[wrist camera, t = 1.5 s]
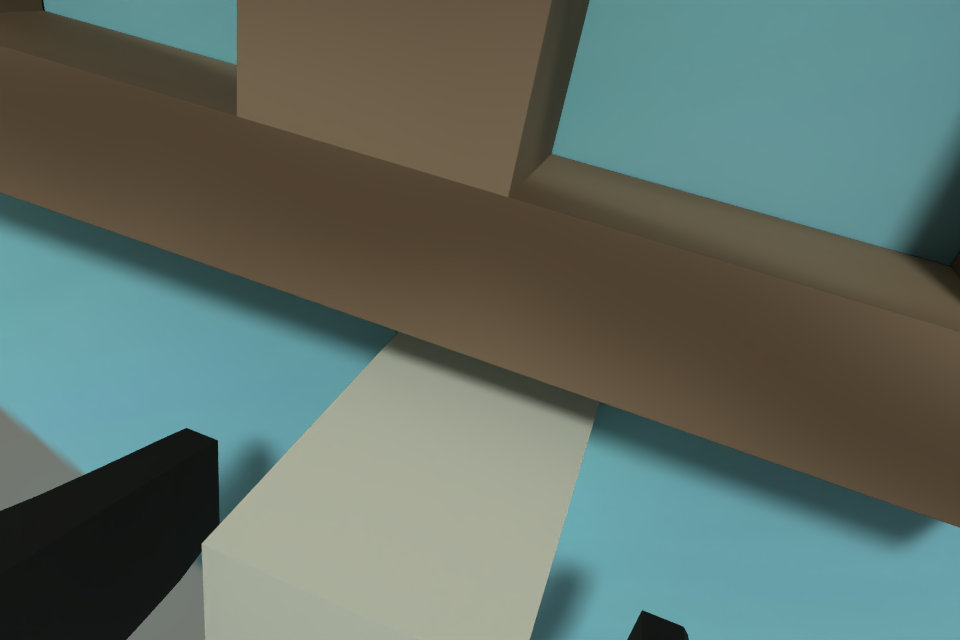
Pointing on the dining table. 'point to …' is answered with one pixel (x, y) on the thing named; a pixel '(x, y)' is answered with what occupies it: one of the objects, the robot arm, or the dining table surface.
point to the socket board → (491, 225)
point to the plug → (405, 509)
